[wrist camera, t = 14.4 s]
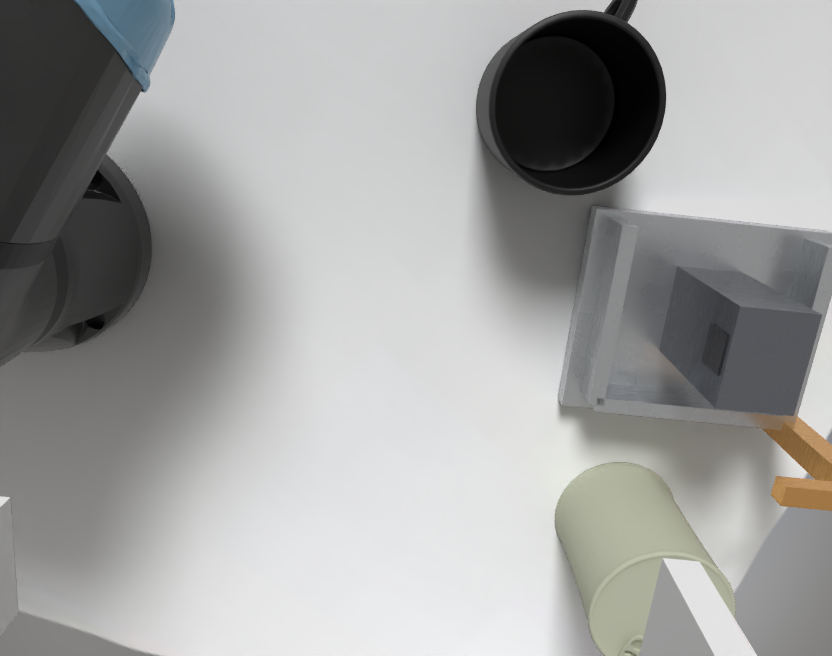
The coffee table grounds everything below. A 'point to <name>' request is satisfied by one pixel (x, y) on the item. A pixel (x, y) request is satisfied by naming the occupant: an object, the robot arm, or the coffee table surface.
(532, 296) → the coffee table surface
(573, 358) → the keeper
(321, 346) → the coffee table surface
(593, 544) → the can
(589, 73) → the mug
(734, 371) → the dark gray box
